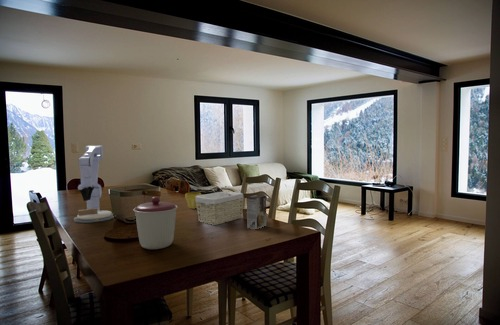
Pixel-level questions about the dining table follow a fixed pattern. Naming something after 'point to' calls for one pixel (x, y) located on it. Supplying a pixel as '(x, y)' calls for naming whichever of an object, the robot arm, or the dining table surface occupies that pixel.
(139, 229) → the canister
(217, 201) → the storage basket
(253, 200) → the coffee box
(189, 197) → the plant pot
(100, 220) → the base
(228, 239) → the dining table surface
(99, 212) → the dial
